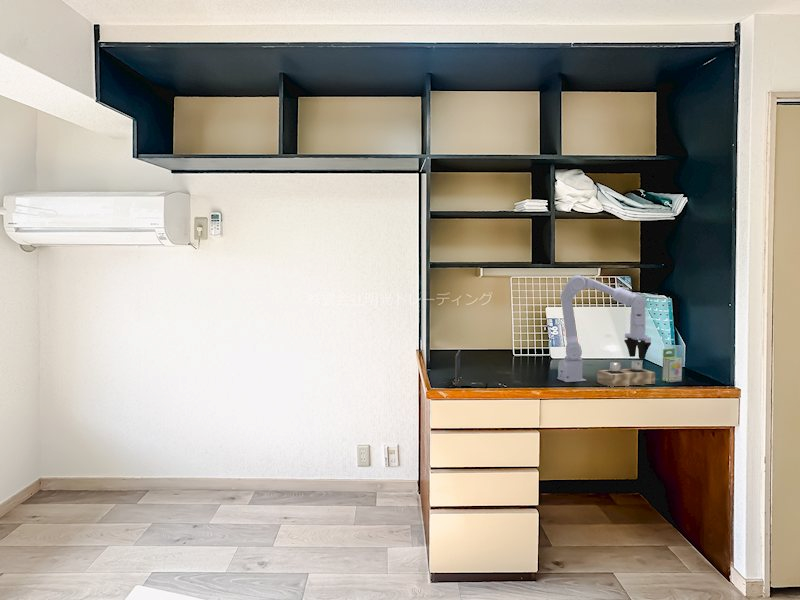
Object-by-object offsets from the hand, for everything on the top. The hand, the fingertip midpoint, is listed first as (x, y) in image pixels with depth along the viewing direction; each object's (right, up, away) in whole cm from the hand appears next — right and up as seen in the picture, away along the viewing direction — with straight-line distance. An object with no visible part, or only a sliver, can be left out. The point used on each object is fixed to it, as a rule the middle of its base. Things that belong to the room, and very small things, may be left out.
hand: (637, 357), depth 254 cm
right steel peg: (0, -7, 0) cm, 7 cm away
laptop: (-67, -11, +2) cm, 68 cm away
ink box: (+16, -10, +4) cm, 19 cm away
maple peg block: (-5, -11, -1) cm, 12 cm away
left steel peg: (-10, -7, -2) cm, 12 cm away
